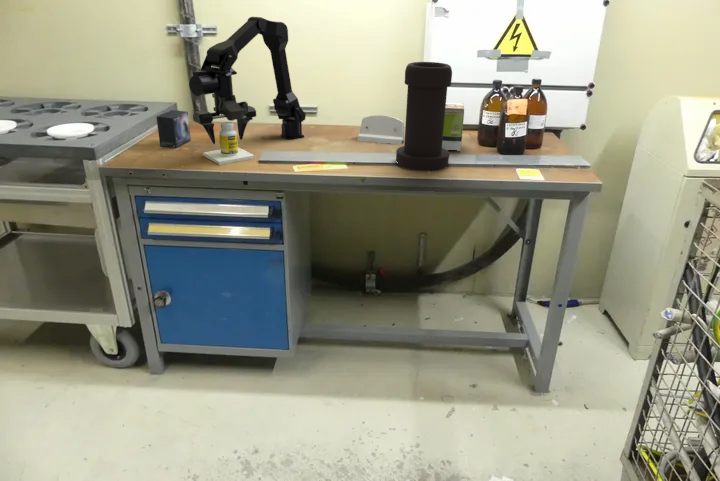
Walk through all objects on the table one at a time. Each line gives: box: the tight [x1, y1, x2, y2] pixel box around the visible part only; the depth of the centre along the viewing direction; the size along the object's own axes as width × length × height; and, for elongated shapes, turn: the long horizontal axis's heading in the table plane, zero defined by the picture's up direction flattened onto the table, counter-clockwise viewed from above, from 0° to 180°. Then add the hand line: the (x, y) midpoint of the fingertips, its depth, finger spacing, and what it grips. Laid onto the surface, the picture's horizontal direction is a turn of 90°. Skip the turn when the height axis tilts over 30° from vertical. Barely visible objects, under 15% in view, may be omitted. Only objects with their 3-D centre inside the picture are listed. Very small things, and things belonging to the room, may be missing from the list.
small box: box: [155, 109, 192, 149], centre depth 181 cm, size 11×6×10 cm, turn 169°
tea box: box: [442, 102, 465, 152], centre depth 183 cm, size 15×10×15 cm, turn 81°
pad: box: [202, 146, 256, 166], centre depth 170 cm, size 12×12×1 cm
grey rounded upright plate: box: [357, 114, 405, 145], centre depth 191 cm, size 17×5×10 cm, turn 75°
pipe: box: [395, 61, 453, 172], centre depth 163 cm, size 16×16×30 cm
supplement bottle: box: [219, 121, 239, 156], centre depth 168 cm, size 5×5×10 cm
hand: (227, 141), depth 168 cm, fingers open, 9 cm apart
